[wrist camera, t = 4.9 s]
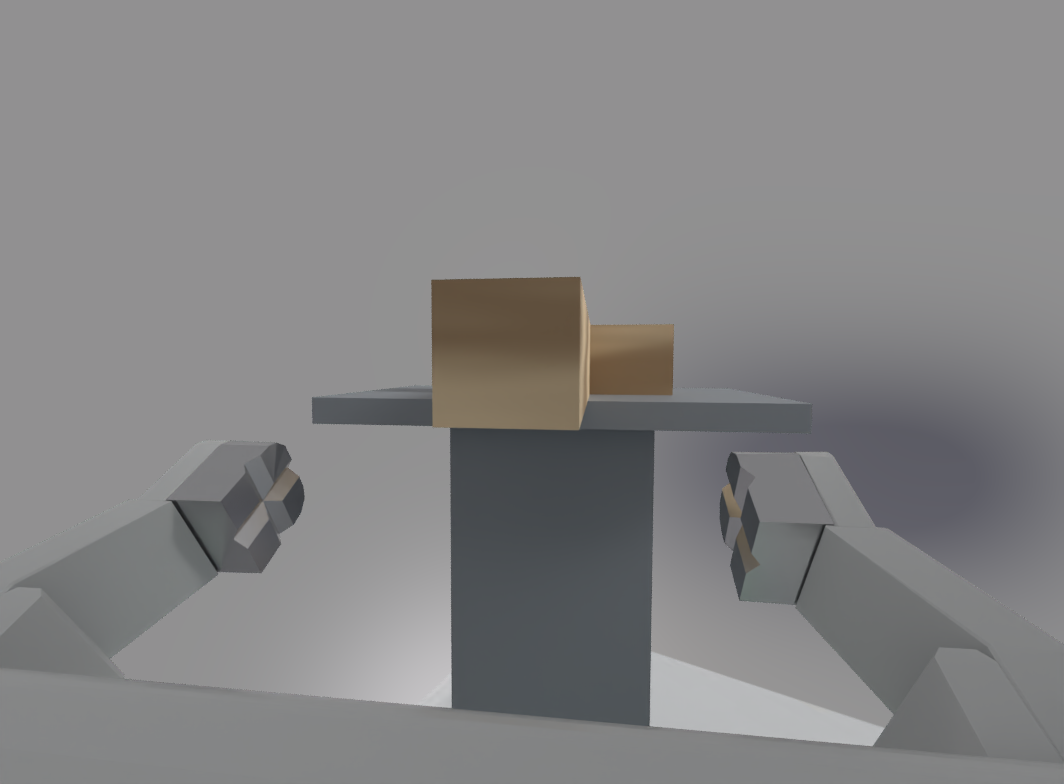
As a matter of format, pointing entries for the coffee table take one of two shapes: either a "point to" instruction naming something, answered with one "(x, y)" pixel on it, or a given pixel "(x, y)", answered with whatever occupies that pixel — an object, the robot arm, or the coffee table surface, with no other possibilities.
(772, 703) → the coffee table surface
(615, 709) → the stand
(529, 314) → the t bar
